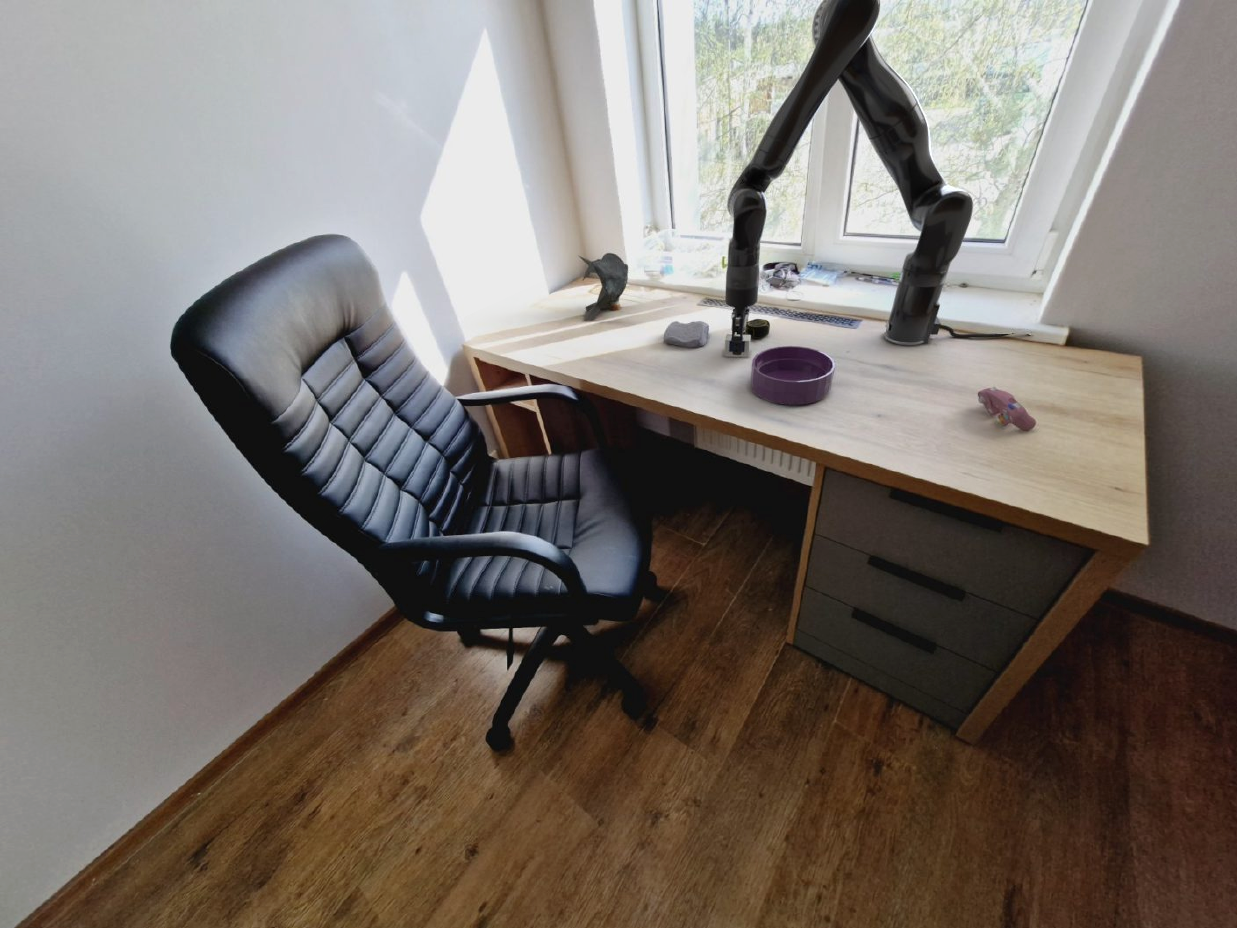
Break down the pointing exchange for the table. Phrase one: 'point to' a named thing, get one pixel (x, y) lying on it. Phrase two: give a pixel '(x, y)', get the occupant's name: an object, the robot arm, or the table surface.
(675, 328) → the stone block
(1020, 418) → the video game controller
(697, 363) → the table surface
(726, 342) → the white box
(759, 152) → the robot arm
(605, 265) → the dark grey bird-shaped figure
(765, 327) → the tape measure
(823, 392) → the bowl
